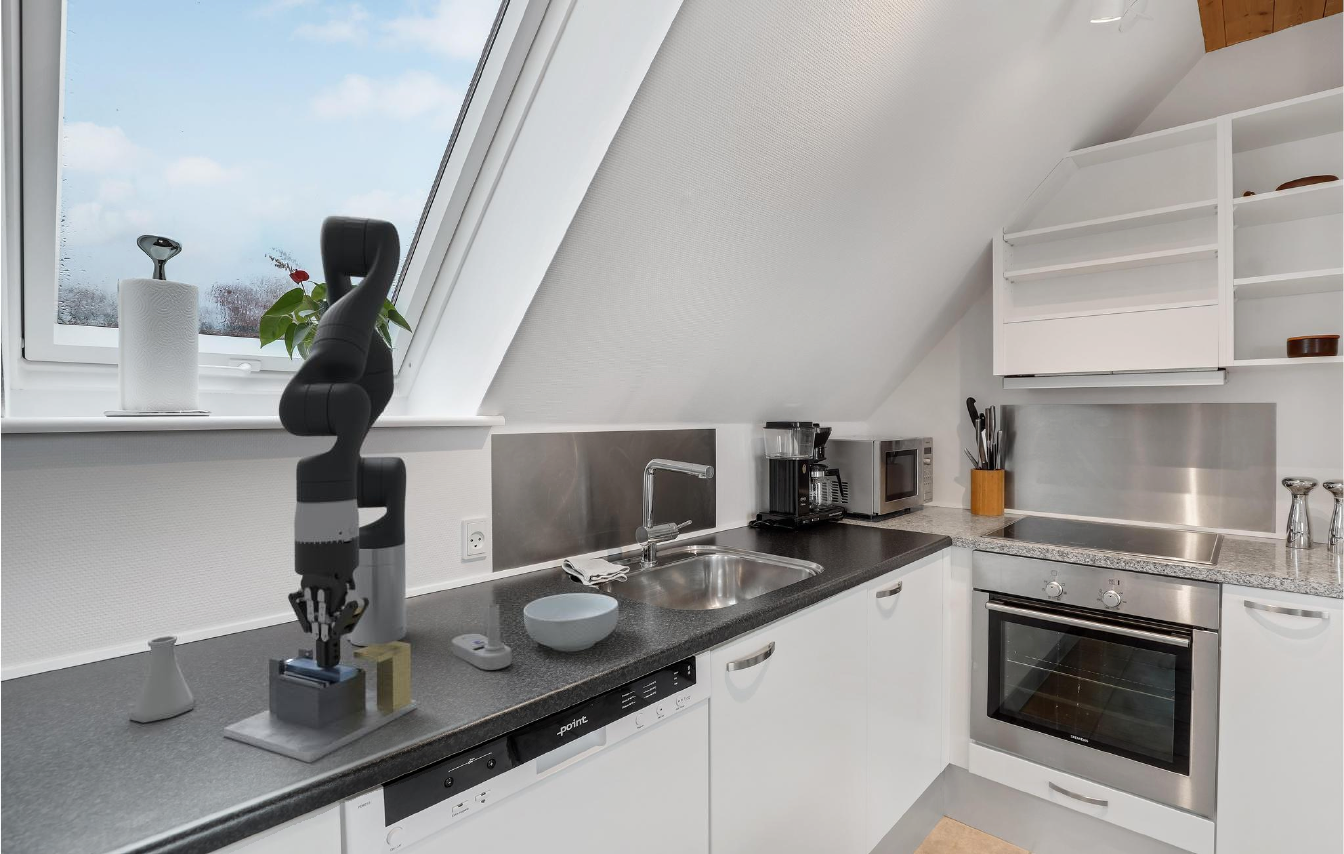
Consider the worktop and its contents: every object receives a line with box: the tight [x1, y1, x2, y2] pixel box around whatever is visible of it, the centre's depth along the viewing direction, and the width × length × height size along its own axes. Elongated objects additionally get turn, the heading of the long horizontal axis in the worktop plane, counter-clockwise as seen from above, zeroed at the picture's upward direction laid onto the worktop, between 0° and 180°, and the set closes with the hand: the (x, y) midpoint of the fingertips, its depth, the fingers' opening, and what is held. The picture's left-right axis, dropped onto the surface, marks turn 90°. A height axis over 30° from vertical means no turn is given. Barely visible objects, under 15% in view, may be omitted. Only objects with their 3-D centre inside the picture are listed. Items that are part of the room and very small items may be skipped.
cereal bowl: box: [523, 592, 619, 652], centre depth 116 cm, size 17×17×7 cm
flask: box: [129, 634, 196, 723], centre depth 89 cm, size 7×7×10 cm
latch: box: [353, 640, 412, 712], centre depth 87 cm, size 4×5×8 cm
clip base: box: [223, 647, 417, 764], centre depth 86 cm, size 16×16×8 cm
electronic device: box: [451, 604, 513, 671], centre depth 109 cm, size 5×10×15 cm
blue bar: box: [284, 655, 356, 682], centre depth 86 cm, size 12×3×1 cm, turn 65°
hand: (328, 666), depth 85 cm, fingers closed
